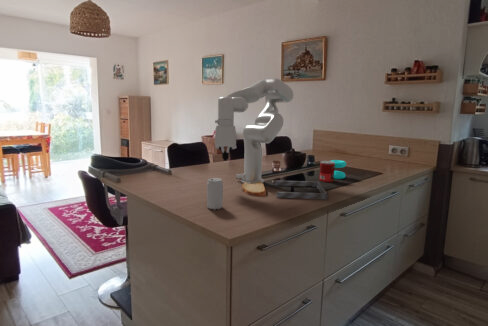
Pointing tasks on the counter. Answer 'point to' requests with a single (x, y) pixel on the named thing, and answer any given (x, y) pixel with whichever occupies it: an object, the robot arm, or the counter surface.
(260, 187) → the bread slice
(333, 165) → the canned food
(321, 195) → the corral
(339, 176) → the donuts
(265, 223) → the counter surface
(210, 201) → the beverage can
